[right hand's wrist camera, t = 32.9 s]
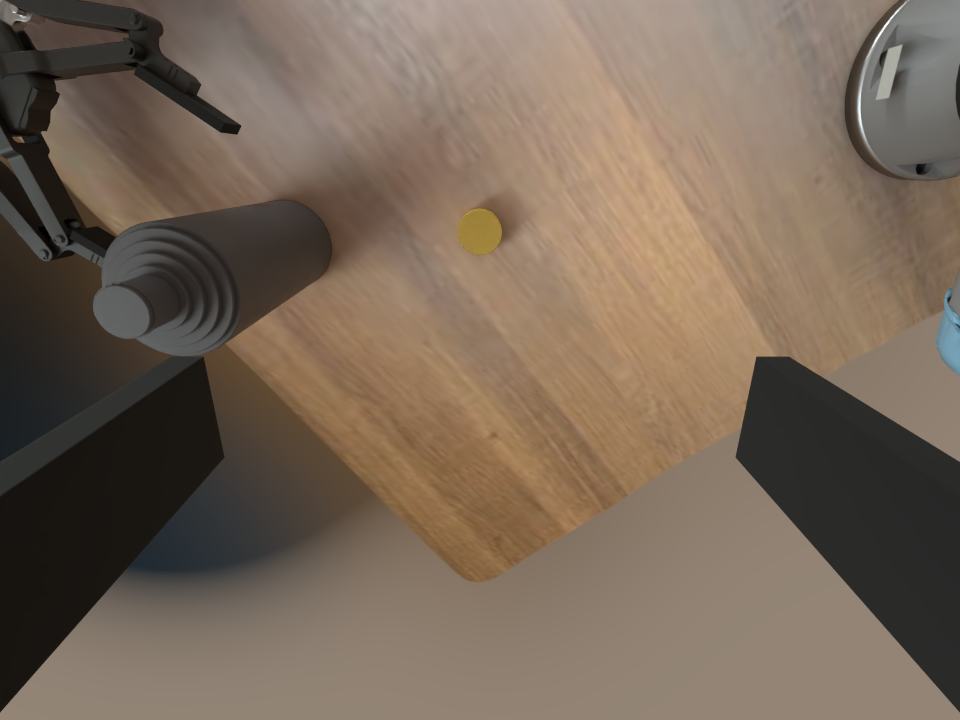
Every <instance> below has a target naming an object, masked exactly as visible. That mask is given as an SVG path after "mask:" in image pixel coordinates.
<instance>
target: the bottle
mask: <svg viewBox="0 0 960 720" xmlns="http://www.w3.org/2000/svg"><path fill="white" fill-rule="evenodd" d="M331 252H332V246H331V239H330V236H329V233H328V230H327V228H326V226H325V225H324V223H323V221H322V220H321V219H320V218H319V217H318V216H317V214H316V213H314V212H313V211H312V210H311V209H309V208H308V207H306V206H304V205H302V204H300V203H297V202H294V201H289V200H277V201H271V202H265V203H259V204H253V205H247V206H241V207H235V208H229V209H223V210H217V211H211V212H205V213H199V214H193V215H187V216H181V217H175V218H169V219H163V220H157V221H151V222H145V223H141V224H137V225H135V226H132V227H130V228H128V229H127V230H125V231H123V232H122V233H121V234H120V235H119V236H117V237H116V238H115V240H114V241H113V242H112V243H111V245H110V246H109V248H108V250H107V252H106V255H105V257H104V261H103V265H102V288H101V289H99V291H98V292H97V294H96V295H95V297H94V301H93V311H94V314H95V316H96V318H97V320H98V321H99V323H100V324H101V326H102V327H103V328H104V329H105V330H107V331H108V332H109V333H111V334H113V335H114V336H117V337H120V338H124V339H134V338H136V339H137V340H139V341H140V342H142V343H144V344H145V345H147V346H149V347H151V348H153V349H155V350H158V351H160V352H163V353H167V354H171V355H177V356H197V355H202V354H206V353H208V352H211V351H213V350H215V349H217V348H219V347H220V346H222V345H223V344H225V343H226V342H228V341H229V340H230V339H232V338H233V337H235V336H236V335H238V334H239V333H241V332H242V331H243V330H245V329H246V328H248V327H249V326H251V325H252V324H254V323H255V322H256V321H258V320H259V319H261V318H262V317H264V316H265V315H267V314H268V313H269V312H271V311H272V310H274V309H275V308H277V307H278V306H280V305H281V304H282V303H284V302H285V301H287V300H288V299H290V298H291V297H293V296H294V295H295V294H297V293H298V292H300V291H301V290H303V289H304V288H306V287H307V286H308V285H310V284H311V283H313V282H314V281H316V280H317V279H318V278H319V277H320V276H321V275H322V274H323V273H324V272H325V271H326V269H327V267H328V265H329V262H330V259H331Z"/></svg>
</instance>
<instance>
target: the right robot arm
mask: <svg viewBox="0 0 960 720" xmlns="http://www.w3.org/2000/svg"><path fill="white" fill-rule="evenodd" d="M845 119H846V125H847V130H848V133H849V137H850V139H851V142H852V144H853V146H854V148H855V149H856V151H857V153H858V154H859V155H860V157H861V158H862V159H863V160H864V161H865V162H866V163H867V164H868V165H869V166H871V167H872V168H873V169H875V170H876V171H878V172H880V173H882V174H884V175H886V176H889V177H893V178H897V179H903V180H927V181H930V180H941V179H947V178H951V177H955V176H958V175H960V0H899V1H898V2H897V3H896V4H895V5H894V6H893V7H892V8H891V9H890V10H889V11H888V12H887V13H886V14H885V15H884V16H883V17H882V18H881V19H880V20H879V22H878V23H877V24H876V25H875V27H874V28H873V29H872V31H871V32H870V34H869V35H868V37H867V38H866V40H865V41H864V43H863V45H862V47H861V49H860V51H859V52H858V55H857V57H856V59H855V61H854V64H853V67H852V70H851V72H850V76H849V80H848V84H847V89H846V97H845ZM944 308H945V310H944V313H943V317H942V320H941V323H940V326H939V330H938V333H937V337H936V346H937V349H938V350H939V353H940V355H941V358H942V360H943V361H944V362H945V363H946V364H947V365H948V367H949V368H950V369H951V370H953V371H954V372H955V373H956V374H958V375H959V376H960V269H959V272H958V274H957V277H956V280H955V282H954V285H953V288H950V289H949V290H948V291H947V293H946V295H945V298H944ZM223 458H224V453H223V448H222V443H221V439H220V434H219V429H218V424H217V419H216V415H215V410H214V405H213V400H212V395H211V391H210V386H209V381H208V376H207V371H206V367H205V362H204V357H170V358H168V359H167V360H165V361H164V362H162V363H160V364H159V365H157V366H155V367H154V368H152V369H150V370H149V371H147V372H146V373H144V374H142V375H141V376H139V377H138V378H136V379H134V380H133V381H131V382H129V383H128V384H126V385H125V386H123V387H121V388H120V389H118V390H116V391H115V392H113V393H112V394H110V395H108V396H107V397H105V398H103V399H102V400H100V401H99V402H97V403H95V404H94V405H92V406H91V407H89V408H87V409H86V410H84V411H82V412H81V413H79V414H78V415H76V416H74V417H73V418H71V419H69V420H68V421H66V422H64V423H63V424H61V425H60V426H58V427H56V428H55V429H53V430H51V431H50V432H48V433H47V434H45V435H43V436H42V437H40V438H38V439H37V440H35V441H34V442H32V443H30V444H29V445H27V446H25V447H24V448H22V449H21V450H19V451H17V452H16V453H14V454H12V455H11V456H9V457H8V458H6V459H4V460H3V461H1V462H0V712H1V711H2V710H3V709H4V707H5V706H6V705H7V704H8V703H9V702H10V701H11V699H12V698H13V697H14V696H15V695H16V694H17V693H18V691H19V690H20V689H21V688H22V687H23V686H24V685H25V684H26V682H27V681H28V680H29V679H30V678H31V677H32V676H33V674H34V673H35V672H36V671H37V670H38V669H39V668H40V666H41V665H42V664H43V663H44V662H45V661H46V660H47V658H48V657H49V656H50V655H51V654H52V653H53V652H54V651H55V649H56V648H57V647H58V646H59V645H60V644H61V643H62V641H63V640H64V639H65V638H66V637H67V636H68V635H69V633H70V632H71V631H72V630H73V629H74V628H75V627H76V626H77V624H78V623H79V622H80V621H81V620H82V619H83V617H84V616H85V615H86V614H87V613H88V612H89V611H90V610H91V608H92V607H93V606H94V605H95V604H96V603H97V602H98V600H99V599H100V598H101V597H102V596H103V595H104V594H105V593H106V591H107V590H108V589H109V588H110V587H111V586H112V585H113V583H114V582H115V581H116V580H117V579H118V578H119V577H120V575H121V574H122V573H123V572H124V571H125V570H126V569H127V567H128V566H129V565H130V564H131V563H132V562H133V561H134V560H135V558H136V557H137V556H138V555H139V554H140V553H141V552H142V550H143V549H144V548H145V547H146V546H147V545H148V544H149V542H150V541H151V540H152V539H153V538H154V537H155V536H156V535H157V533H158V532H159V531H160V530H161V529H162V528H163V527H164V525H165V524H166V523H167V522H168V521H169V520H170V519H171V517H172V516H173V515H174V514H175V513H176V512H177V511H178V509H179V508H180V507H181V506H182V505H183V504H184V503H185V501H186V500H187V499H188V498H189V497H190V496H191V495H192V494H193V492H194V491H195V490H196V489H197V488H198V487H199V486H200V484H201V483H202V482H203V481H204V480H205V479H206V478H207V477H208V475H209V474H210V473H211V472H212V471H213V470H214V469H215V467H216V466H217V465H218V464H219V463H220V462H221V461H222V459H223ZM736 458H737V459H738V461H739V462H740V463H741V464H742V465H743V466H744V467H745V469H746V470H747V471H748V472H749V473H750V474H751V475H752V477H753V478H754V479H755V480H756V481H757V482H758V483H759V484H760V486H761V487H762V488H763V489H764V490H765V491H766V492H767V494H768V495H769V496H770V497H771V498H772V499H773V500H774V502H775V503H776V504H777V505H778V506H779V507H780V508H781V509H782V511H783V512H784V513H785V514H786V515H787V516H788V517H789V519H790V520H791V521H792V522H793V523H794V524H795V525H796V527H797V528H798V529H799V530H800V531H801V532H802V533H803V535H804V536H805V537H806V538H807V539H808V540H809V541H810V542H811V544H812V545H813V546H814V547H815V548H816V549H817V550H818V552H819V553H820V554H821V555H822V556H823V557H824V558H825V560H826V561H827V562H828V563H829V564H830V565H831V566H832V567H833V569H834V570H835V571H836V572H837V573H838V574H839V575H840V577H841V578H842V579H843V580H844V581H845V582H846V583H847V585H848V586H849V587H850V588H851V589H852V590H853V591H854V593H855V594H856V595H857V596H858V597H859V598H860V599H861V600H862V602H863V603H864V604H865V605H866V606H867V607H868V608H869V610H870V611H871V612H872V613H873V614H874V615H875V616H876V618H877V619H878V620H879V621H880V622H881V623H882V624H883V625H884V627H885V628H886V629H887V630H888V631H889V632H890V633H891V635H892V636H893V637H894V638H895V639H896V640H897V641H898V643H899V644H900V645H901V646H902V647H903V648H904V649H905V651H906V652H907V653H908V654H909V655H910V656H911V657H912V658H913V660H914V661H915V662H916V663H917V664H918V665H919V666H920V668H921V669H922V670H923V671H924V672H925V673H926V674H927V676H928V677H929V678H930V679H931V680H932V681H933V682H934V684H935V685H936V686H937V687H938V688H939V689H940V690H941V691H942V693H943V694H944V695H945V696H946V697H947V698H948V699H949V701H950V702H951V703H952V704H953V705H954V706H955V707H956V709H957V710H958V711H959V712H960V462H959V461H957V460H956V459H954V458H952V457H951V456H949V455H948V454H946V453H944V452H943V451H941V450H939V449H938V448H936V447H935V446H933V445H931V444H930V443H928V442H926V441H925V440H923V439H922V438H920V437H918V436H917V435H915V434H913V433H912V432H910V431H909V430H907V429H905V428H904V427H902V426H900V425H899V424H897V423H896V422H894V421H892V420H891V419H889V418H887V417H886V416H884V415H883V414H881V413H879V412H878V411H876V410H874V409H873V408H871V407H870V406H868V405H866V404H865V403H863V402H861V401H860V400H858V399H857V398H855V397H853V396H852V395H850V394H848V393H847V392H845V391H844V390H842V389H840V388H839V387H837V386H835V385H834V384H832V383H831V382H829V381H827V380H826V379H824V378H823V377H821V376H819V375H818V374H816V373H814V372H813V371H811V370H810V369H808V368H806V367H805V366H803V365H801V364H800V363H798V362H797V361H795V360H793V359H792V358H790V357H756V362H755V366H754V371H753V376H752V381H751V386H750V390H749V395H748V400H747V405H746V410H745V415H744V419H743V424H742V429H741V434H740V439H739V443H738V448H737V453H736Z"/></svg>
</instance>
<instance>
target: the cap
mask: <svg viewBox="0 0 960 720" xmlns="http://www.w3.org/2000/svg"><path fill="white" fill-rule="evenodd" d="M458 237H459V240H460V243H461V245H462V246H463V247H464V248H465V249H466V250H467V251H468V252H470V253H472V254H476V255H484V254H488V253H490V252H492V251H493V250H494V249H496V247H497V246H498V245H499V243H500V241H501V238H502V227H501V224H500V221H499V219H498V218H497V216H496V215H495V214H494V213H493V212H491V211H489V210H487V209H483V208H477V209H473V210H471V211H469V212H468V213H466V214H465V215H464V216H463V218H462V219H461V222H460V224H459V228H458Z"/></svg>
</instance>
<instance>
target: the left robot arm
mask: <svg viewBox="0 0 960 720" xmlns="http://www.w3.org/2000/svg"><path fill="white" fill-rule="evenodd" d="M46 18H48V19H51V20H54V21H57V22H60V23H65V24H71V25H77V26H83V27H90V28H96V29H102V30H109V31H115V32H121V33H127V34H129V39H126V38H123V40H125V41H123V42H115V43H106V44H98V45H89V46H81V47H72V48H64V49H55V50H47V51H39V50H36V48H35V46H34V45H33V43H32V41H31V39H30V38H29V36H28V35H27V33H26V32H25V31H24V30H23V28H24V26H25V25H27V24H33V25H38V24H40V23H44V22H45V20H46ZM162 34H163V26H162V24H161V23H160V22H159V21H158V20H156V19H154V18H152V17H150V16H148V15H146V14H143V13H141V12H139V11H137V10H134V9H130V8H124V7H117V6H111V5H105V4H99V3H93V2H86V1H80V0H0V155H1V156H2V157H4V158H6V159H7V160H8V161H9V163H10V165H11V167H12V168H13V170H14V172H15V174H16V176H17V177H18V178H17V177H16V176H15V175H14V173H13V172H12V171H11V170H10V169H9V168H8V167H7V166H6V165H5V164H4V163H3V162H1V161H0V213H1V214H2V215H3V216H4V217H5V218H6V219H7V221H8V222H9V223H10V224H11V225H12V227H13V228H14V229H15V230H16V231H17V232H18V234H19V235H20V236H21V237H22V238H23V239H24V241H25V242H26V243H27V244H28V245H29V246H30V248H31V249H32V250H33V251H34V252H35V253H36V255H37V256H38V257H39V258H40V259H42V260H44V261H50V260H55V259H59V258H64V257H68V256H72V255H73V254H74V253H75V252H76V253H77V254H79V255H81V256H83V257H84V258H86V259H88V260H89V261H92V262H93V263H95V264H97V265H98V266H100V267H102V265H103V261H104V257H105V255H106V252H107V250H108V248H109V246H110V245H111V243H112V242H113V241H114V240H115V238H116V237H114V236H113V235H111V234H109V233H108V232H106V231H104V230H103V229H101V228H99V227H98V226H97V227H91V228H86V227H85V225H84V223H83V221H82V219H81V217H80V215H79V213H78V211H77V210H76V208H75V206H74V204H73V202H72V200H71V198H70V196H69V195H68V193H67V191H66V189H65V187H64V185H63V183H62V181H61V179H60V178H59V176H58V174H57V172H56V170H55V168H54V166H53V164H52V163H51V161H50V159H49V157H48V154H49V153H50V150H49V148H48V146H47V144H46V142H45V140H44V138H43V136H42V134H41V132H42V131H47V129H48V126H49V124H50V112H51V110H52V108H53V107H54V106H55V105H56V103H57V101H58V98H59V95H60V94H59V93H58V92H56V85H55V82H54V81H55V80H64V79H72V78H77V76H84V75H92V74H101V73H109V72H118V71H127V70H135V69H136V71H135V73H134V75H136V76H137V77H139V78H140V79H142V80H143V81H145V82H146V83H148V84H149V85H151V86H152V87H154V88H155V89H157V90H158V91H160V92H161V93H163V94H164V95H166V96H167V97H169V98H170V99H172V100H173V101H175V102H176V103H178V104H179V105H180V106H182V107H183V108H185V109H186V110H188V111H189V112H191V113H192V114H194V115H195V116H197V117H198V118H200V119H201V120H203V121H204V122H206V123H207V124H209V125H210V126H212V127H213V128H215V129H216V130H218V131H219V132H222V133H229V134H238V132H239V130H240V128H241V125H240V124H238V123H237V122H235V121H234V120H232V119H231V118H229V117H228V116H226V115H225V114H223V113H222V112H220V111H219V110H217V109H216V108H215V107H213V106H212V105H210V104H209V103H207V102H206V101H204V100H203V99H201V98H200V97H198V96H197V93H198V91H199V89H200V86H201V84H200V83H199V81H198V80H197V79H196V78H195V77H194V76H192V75H191V74H189V73H188V72H187V71H185V70H184V69H182V68H181V67H179V66H178V65H176V64H175V63H173V62H172V61H171V60H169V59H168V58H166V57H165V56H164V55H163V54H162V53H161V51H160V48H159V37H161V36H162ZM12 137H22V138H23V140H24V142H25V143H18V142H16V141H14V139H13V138H12Z"/></svg>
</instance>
